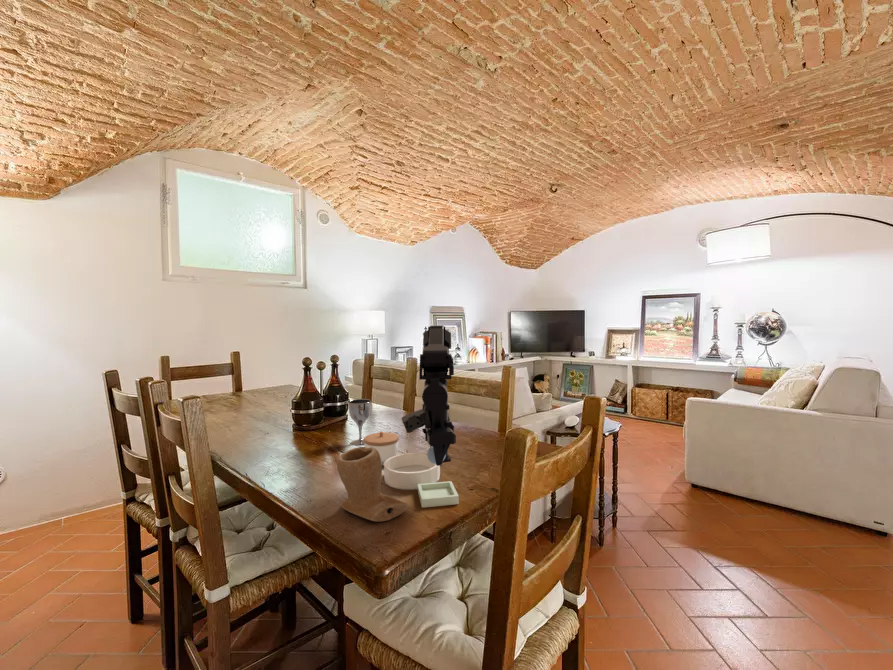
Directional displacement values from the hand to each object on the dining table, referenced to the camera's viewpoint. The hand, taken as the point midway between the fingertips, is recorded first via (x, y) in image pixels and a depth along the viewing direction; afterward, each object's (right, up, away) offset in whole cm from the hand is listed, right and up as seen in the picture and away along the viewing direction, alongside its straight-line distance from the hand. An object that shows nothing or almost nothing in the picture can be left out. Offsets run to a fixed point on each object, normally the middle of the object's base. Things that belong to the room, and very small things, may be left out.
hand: (436, 461), depth 104 cm
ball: (0, +2, 0) cm, 2 cm away
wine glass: (-29, -7, +45) cm, 54 cm away
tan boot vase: (-16, -10, -7) cm, 20 cm away
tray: (0, -9, 0) cm, 9 cm away
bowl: (-7, -9, +13) cm, 17 cm away
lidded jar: (-18, -8, +26) cm, 33 cm away
